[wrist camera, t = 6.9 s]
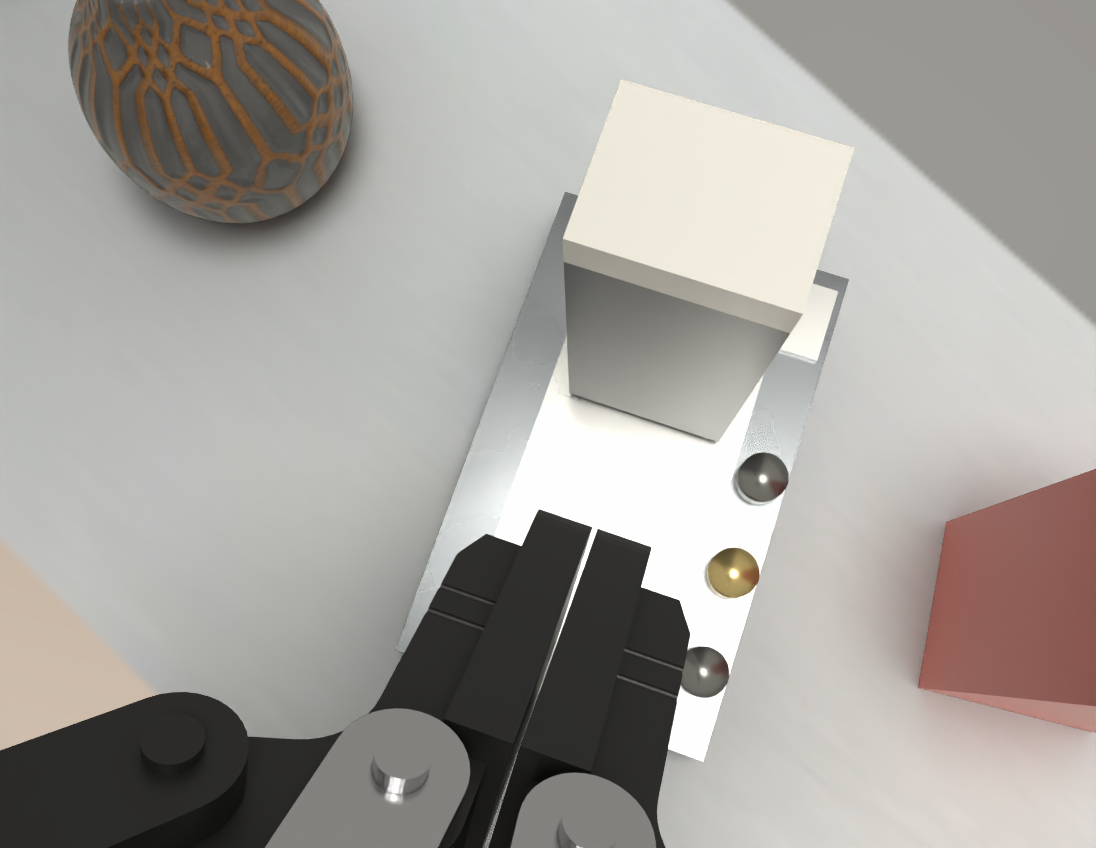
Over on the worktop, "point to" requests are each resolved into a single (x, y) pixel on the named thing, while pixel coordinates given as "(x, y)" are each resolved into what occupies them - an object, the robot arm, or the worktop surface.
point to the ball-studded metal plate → (638, 478)
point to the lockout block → (1020, 606)
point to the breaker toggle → (691, 255)
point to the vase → (215, 99)
